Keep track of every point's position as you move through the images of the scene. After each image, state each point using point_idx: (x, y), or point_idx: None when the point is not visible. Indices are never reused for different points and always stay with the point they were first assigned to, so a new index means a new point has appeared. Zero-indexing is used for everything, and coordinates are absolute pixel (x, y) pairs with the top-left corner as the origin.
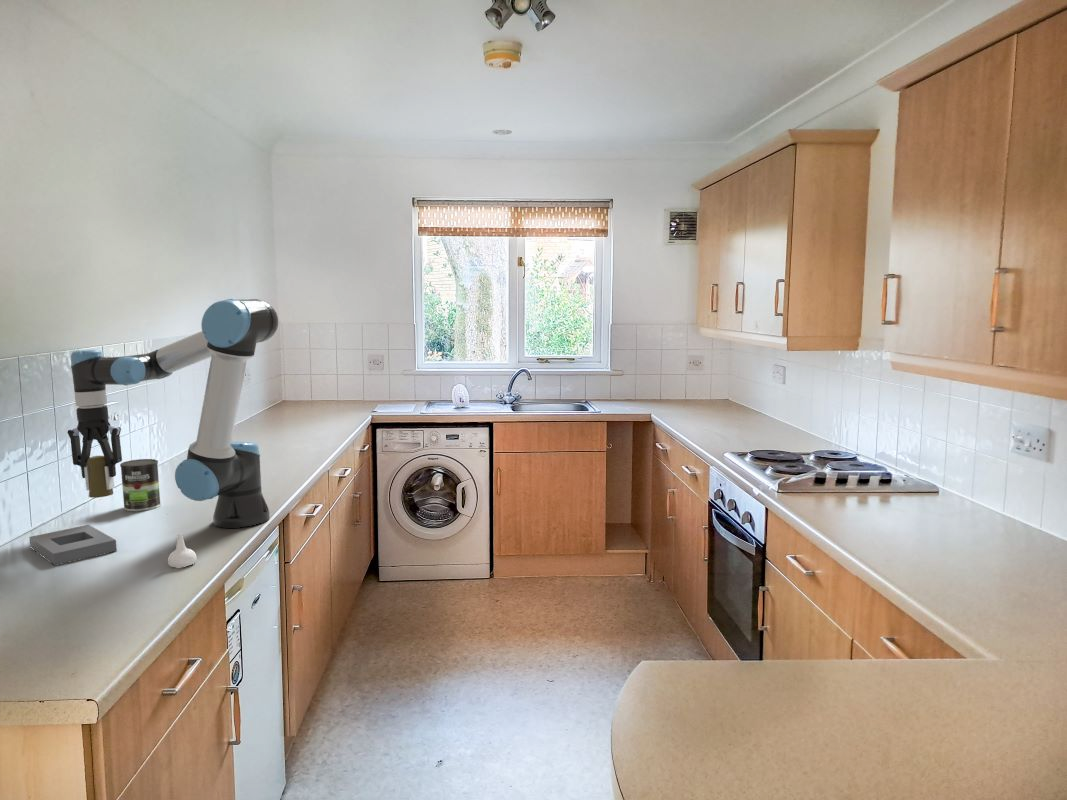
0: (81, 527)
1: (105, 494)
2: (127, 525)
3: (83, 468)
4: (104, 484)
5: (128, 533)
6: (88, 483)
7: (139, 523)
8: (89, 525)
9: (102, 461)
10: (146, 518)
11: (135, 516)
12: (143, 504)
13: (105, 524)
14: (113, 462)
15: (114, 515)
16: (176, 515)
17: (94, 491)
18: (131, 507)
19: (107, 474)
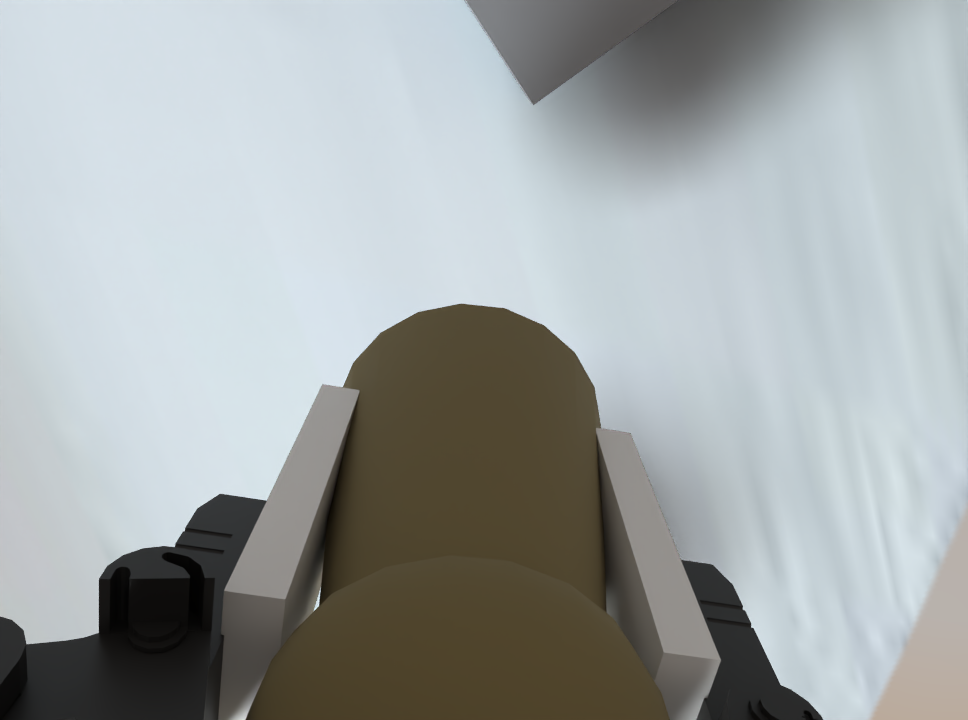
0: (573, 13)
1: (381, 342)
2: (309, 330)
3: (736, 681)
4: (370, 415)
5: (207, 76)
6: (609, 472)
7: (232, 364)
8: (515, 71)
9: (285, 689)
10: (231, 488)
11: None
12: None
13: None
14: (63, 674)
15: None
16: (26, 512)
17: (504, 346)
18: None
19: (279, 497)
